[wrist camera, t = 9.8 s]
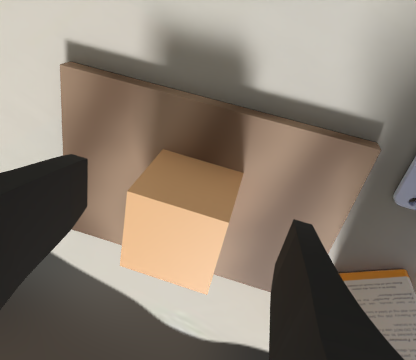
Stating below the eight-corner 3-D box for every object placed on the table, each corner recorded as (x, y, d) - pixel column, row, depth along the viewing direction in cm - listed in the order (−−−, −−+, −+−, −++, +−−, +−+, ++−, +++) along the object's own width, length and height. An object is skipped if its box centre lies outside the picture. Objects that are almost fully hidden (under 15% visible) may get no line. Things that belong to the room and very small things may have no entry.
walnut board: (377, 142, 18) (381, 150, 17) (302, 291, 24) (303, 302, 24) (70, 61, 20) (60, 64, 19) (73, 219, 26) (65, 227, 25)
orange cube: (243, 172, 20) (228, 222, 16) (224, 236, 22) (207, 294, 18) (162, 148, 20) (127, 191, 16) (153, 214, 23) (120, 265, 19)
